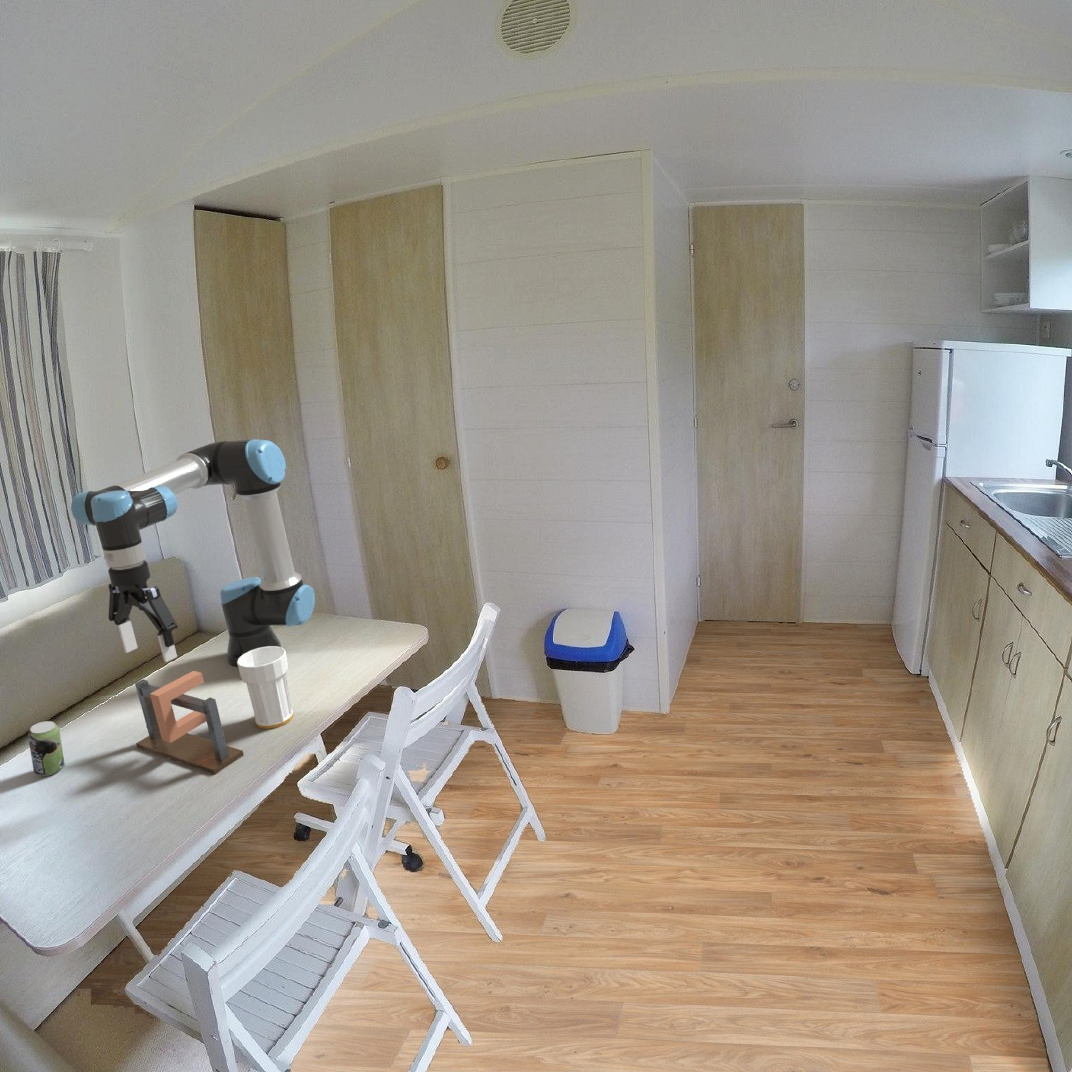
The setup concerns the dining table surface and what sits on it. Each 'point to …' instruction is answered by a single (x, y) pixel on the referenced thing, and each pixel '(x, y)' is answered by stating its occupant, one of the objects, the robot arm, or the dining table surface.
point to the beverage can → (46, 748)
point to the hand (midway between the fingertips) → (150, 654)
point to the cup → (267, 685)
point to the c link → (164, 709)
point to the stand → (188, 746)
